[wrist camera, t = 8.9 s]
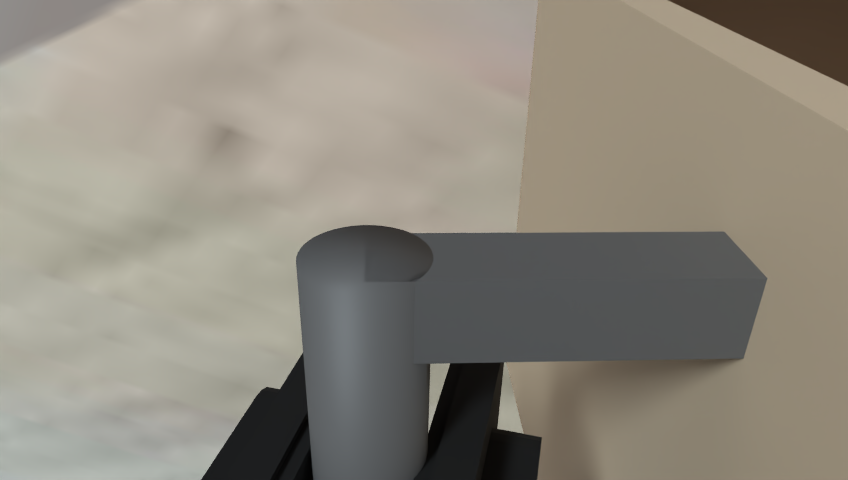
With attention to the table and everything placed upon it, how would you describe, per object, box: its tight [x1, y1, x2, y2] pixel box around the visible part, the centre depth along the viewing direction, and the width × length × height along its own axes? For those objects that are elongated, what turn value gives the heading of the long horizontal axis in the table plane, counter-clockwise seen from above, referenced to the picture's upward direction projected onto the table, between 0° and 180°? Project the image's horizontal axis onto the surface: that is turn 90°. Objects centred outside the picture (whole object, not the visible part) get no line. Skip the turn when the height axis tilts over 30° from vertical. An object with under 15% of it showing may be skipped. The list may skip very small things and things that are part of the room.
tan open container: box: [668, 0, 848, 86], centre depth 22 cm, size 14×12×8 cm
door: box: [296, 0, 848, 480], centre depth 13 cm, size 14×12×6 cm
